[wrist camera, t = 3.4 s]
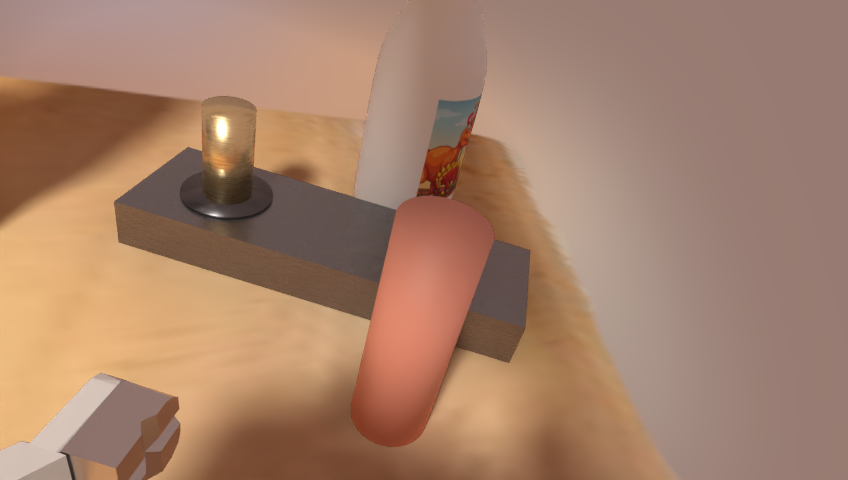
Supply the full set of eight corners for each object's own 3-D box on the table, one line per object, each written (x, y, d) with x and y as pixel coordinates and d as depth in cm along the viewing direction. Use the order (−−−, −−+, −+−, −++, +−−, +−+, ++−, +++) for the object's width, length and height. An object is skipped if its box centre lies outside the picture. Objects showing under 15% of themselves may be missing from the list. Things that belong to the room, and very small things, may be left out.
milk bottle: (370, 237, 41) (433, -67, 29) (340, 180, 46) (383, -95, 35) (462, 230, 44) (550, -44, 33) (424, 178, 49) (488, -72, 38)
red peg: (340, 432, 27) (384, 235, 20) (363, 372, 30) (407, 185, 24) (418, 456, 27) (489, 268, 20) (433, 393, 30) (498, 213, 23)
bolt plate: (118, 242, 34) (102, 106, 29) (188, 183, 41) (185, 64, 36) (508, 362, 33) (563, 244, 28) (516, 282, 40) (561, 175, 35)
